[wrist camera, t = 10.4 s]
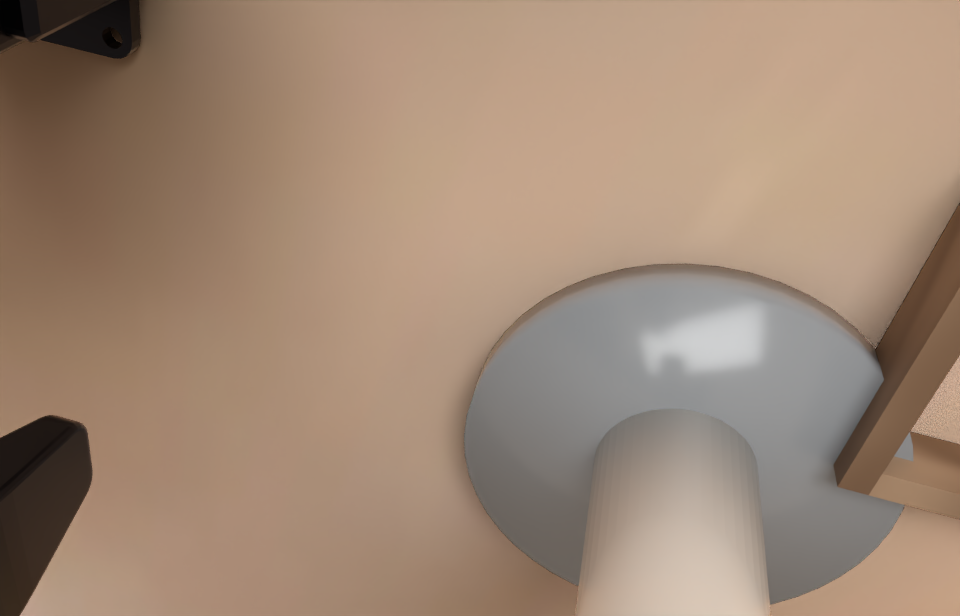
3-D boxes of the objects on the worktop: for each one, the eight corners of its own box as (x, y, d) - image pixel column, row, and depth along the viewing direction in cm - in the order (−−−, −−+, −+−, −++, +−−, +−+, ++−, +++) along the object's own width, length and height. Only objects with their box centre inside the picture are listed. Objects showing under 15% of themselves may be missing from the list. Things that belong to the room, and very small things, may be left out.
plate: (445, 522, 29) (436, 549, 28) (515, 213, 22) (507, 236, 21) (801, 620, 28) (805, 652, 27) (992, 334, 21) (1007, 363, 20)
